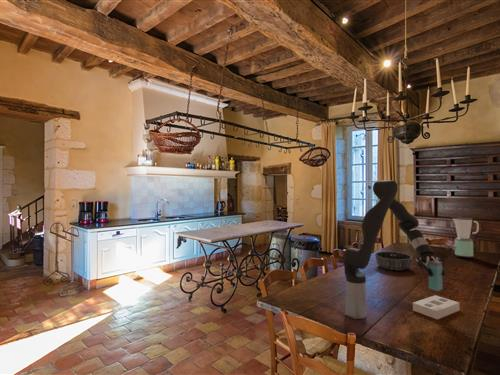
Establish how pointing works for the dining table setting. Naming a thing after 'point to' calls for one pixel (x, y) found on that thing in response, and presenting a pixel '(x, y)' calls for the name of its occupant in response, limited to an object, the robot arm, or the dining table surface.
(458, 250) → the blender
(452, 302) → the block
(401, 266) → the bundt pan
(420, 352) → the dining table surface
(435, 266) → the plug
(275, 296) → the dining table surface
